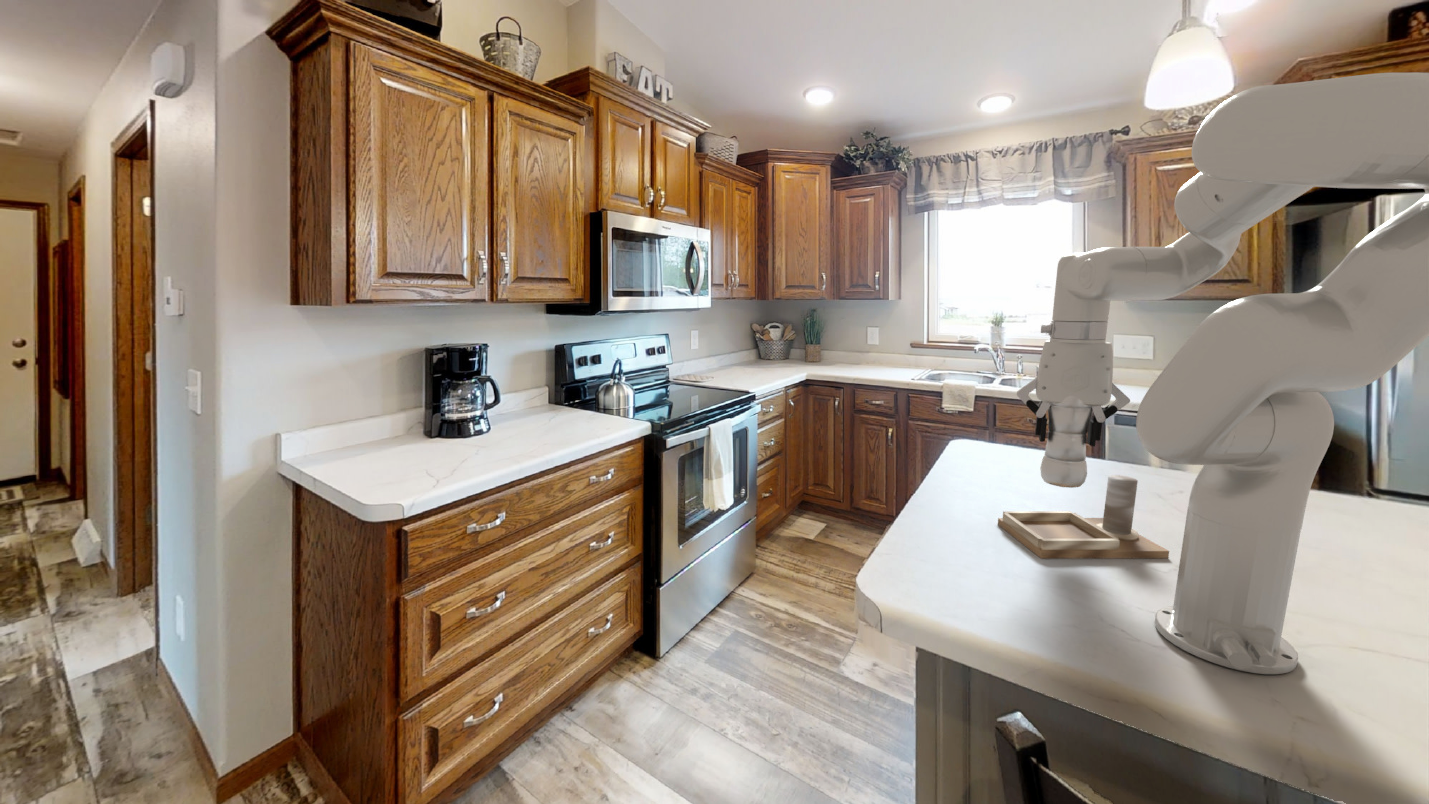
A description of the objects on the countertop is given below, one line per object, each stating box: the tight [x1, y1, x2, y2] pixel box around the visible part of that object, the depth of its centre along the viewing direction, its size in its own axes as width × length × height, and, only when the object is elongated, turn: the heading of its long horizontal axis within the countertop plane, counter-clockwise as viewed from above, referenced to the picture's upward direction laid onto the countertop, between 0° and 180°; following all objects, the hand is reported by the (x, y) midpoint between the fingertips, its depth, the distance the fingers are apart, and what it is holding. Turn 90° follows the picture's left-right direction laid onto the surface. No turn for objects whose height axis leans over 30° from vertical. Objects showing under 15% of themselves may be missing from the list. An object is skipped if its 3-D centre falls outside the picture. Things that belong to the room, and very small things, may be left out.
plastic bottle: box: [1040, 396, 1093, 489], centre depth 93 cm, size 6×7×20 cm
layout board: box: [997, 474, 1170, 560], centre depth 95 cm, size 20×14×11 cm
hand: (1066, 441), depth 94 cm, fingers closed on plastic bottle, 6 cm apart
